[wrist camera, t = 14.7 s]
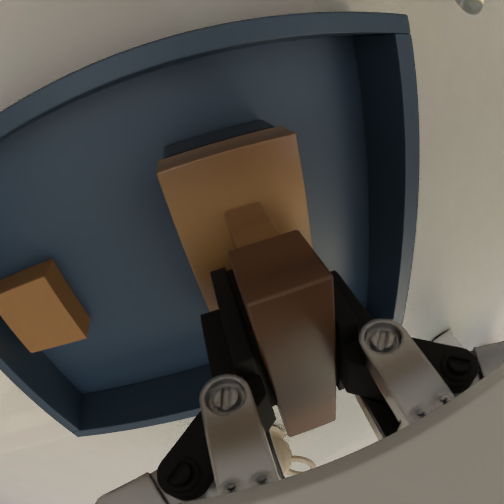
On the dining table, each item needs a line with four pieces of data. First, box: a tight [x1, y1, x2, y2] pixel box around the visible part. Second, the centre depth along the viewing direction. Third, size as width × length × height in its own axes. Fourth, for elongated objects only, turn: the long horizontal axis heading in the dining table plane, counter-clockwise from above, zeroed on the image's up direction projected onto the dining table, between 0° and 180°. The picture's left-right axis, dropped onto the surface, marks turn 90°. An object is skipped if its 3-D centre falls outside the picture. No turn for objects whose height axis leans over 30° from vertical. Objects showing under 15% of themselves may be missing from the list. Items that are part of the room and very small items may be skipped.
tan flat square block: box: [0, 259, 90, 353], centre depth 13 cm, size 4×4×2 cm
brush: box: [156, 120, 336, 437], centre depth 11 cm, size 10×4×8 cm, turn 12°
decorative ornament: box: [269, 425, 316, 476], centre depth 25 cm, size 4×8×5 cm, turn 60°
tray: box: [0, 12, 419, 437], centre depth 13 cm, size 18×22×4 cm
